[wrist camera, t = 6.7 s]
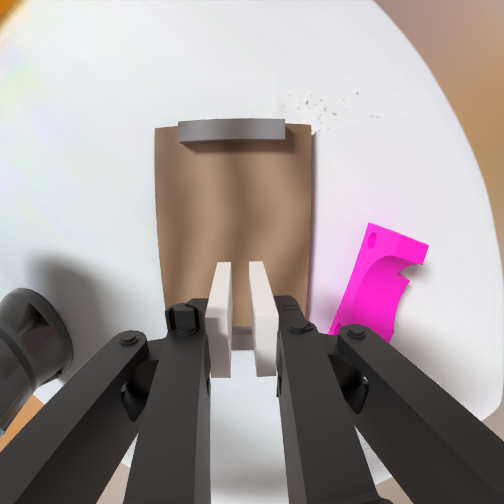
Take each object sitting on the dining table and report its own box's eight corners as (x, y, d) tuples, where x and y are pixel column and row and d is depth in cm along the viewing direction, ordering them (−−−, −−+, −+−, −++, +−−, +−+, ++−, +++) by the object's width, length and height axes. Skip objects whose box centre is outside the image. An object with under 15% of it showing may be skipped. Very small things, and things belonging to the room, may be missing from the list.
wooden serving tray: (172, 335, 32) (166, 348, 29) (157, 130, 26) (148, 125, 23) (301, 333, 33) (306, 347, 30) (308, 126, 27) (315, 121, 24)
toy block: (366, 341, 34) (389, 374, 26) (326, 335, 33) (344, 371, 26) (408, 236, 30) (444, 251, 23) (367, 222, 30) (401, 235, 22)
